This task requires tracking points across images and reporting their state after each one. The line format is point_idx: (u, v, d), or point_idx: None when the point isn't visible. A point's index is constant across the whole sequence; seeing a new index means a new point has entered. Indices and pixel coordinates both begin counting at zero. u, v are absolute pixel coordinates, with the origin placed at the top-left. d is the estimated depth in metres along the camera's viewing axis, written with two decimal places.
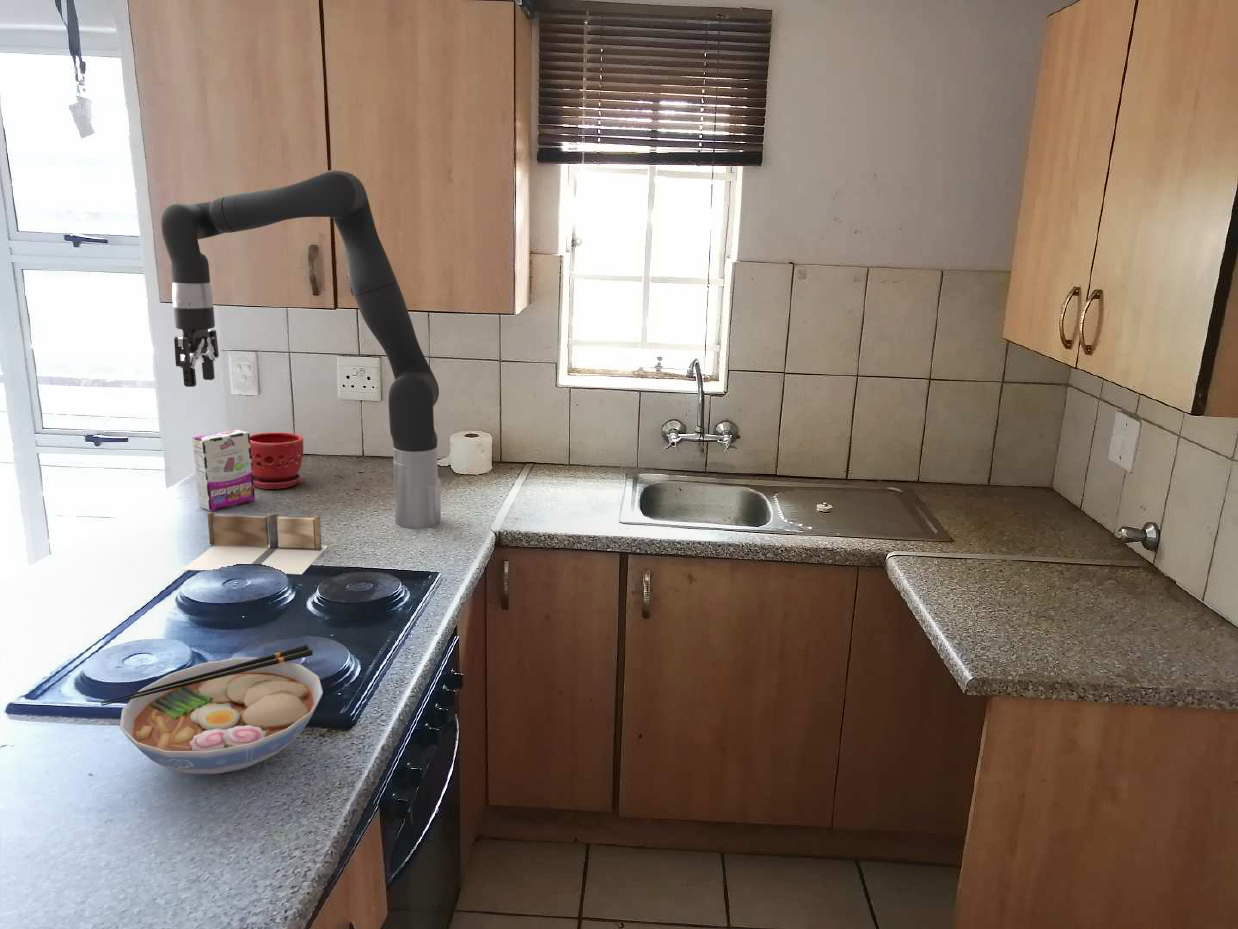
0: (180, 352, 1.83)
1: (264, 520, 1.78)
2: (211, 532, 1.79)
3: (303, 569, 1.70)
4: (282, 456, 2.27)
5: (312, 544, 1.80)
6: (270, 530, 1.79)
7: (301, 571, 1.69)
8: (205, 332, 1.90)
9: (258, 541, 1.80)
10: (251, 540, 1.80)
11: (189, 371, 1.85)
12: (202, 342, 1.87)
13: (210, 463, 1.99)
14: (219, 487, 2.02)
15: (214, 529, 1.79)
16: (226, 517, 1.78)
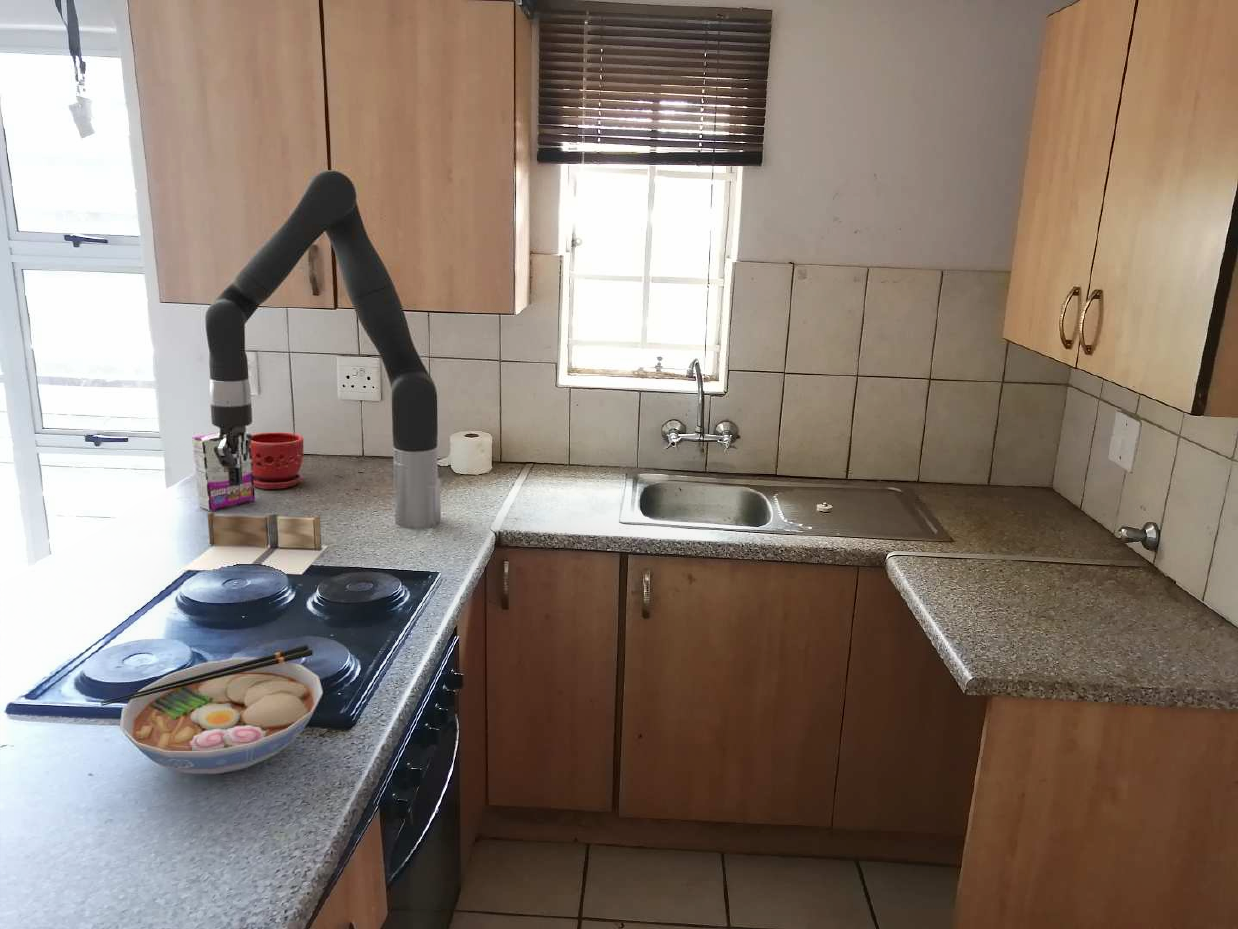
0: (223, 459, 1.80)
1: (264, 520, 1.78)
2: (211, 532, 1.79)
3: (303, 569, 1.70)
4: (282, 456, 2.27)
5: (312, 544, 1.80)
6: (270, 530, 1.79)
7: (301, 571, 1.69)
8: (242, 427, 1.85)
9: (258, 541, 1.80)
10: (251, 540, 1.80)
11: (234, 471, 1.83)
12: (239, 440, 1.82)
13: (210, 463, 1.99)
14: (219, 487, 2.02)
15: (214, 529, 1.79)
16: (226, 517, 1.78)
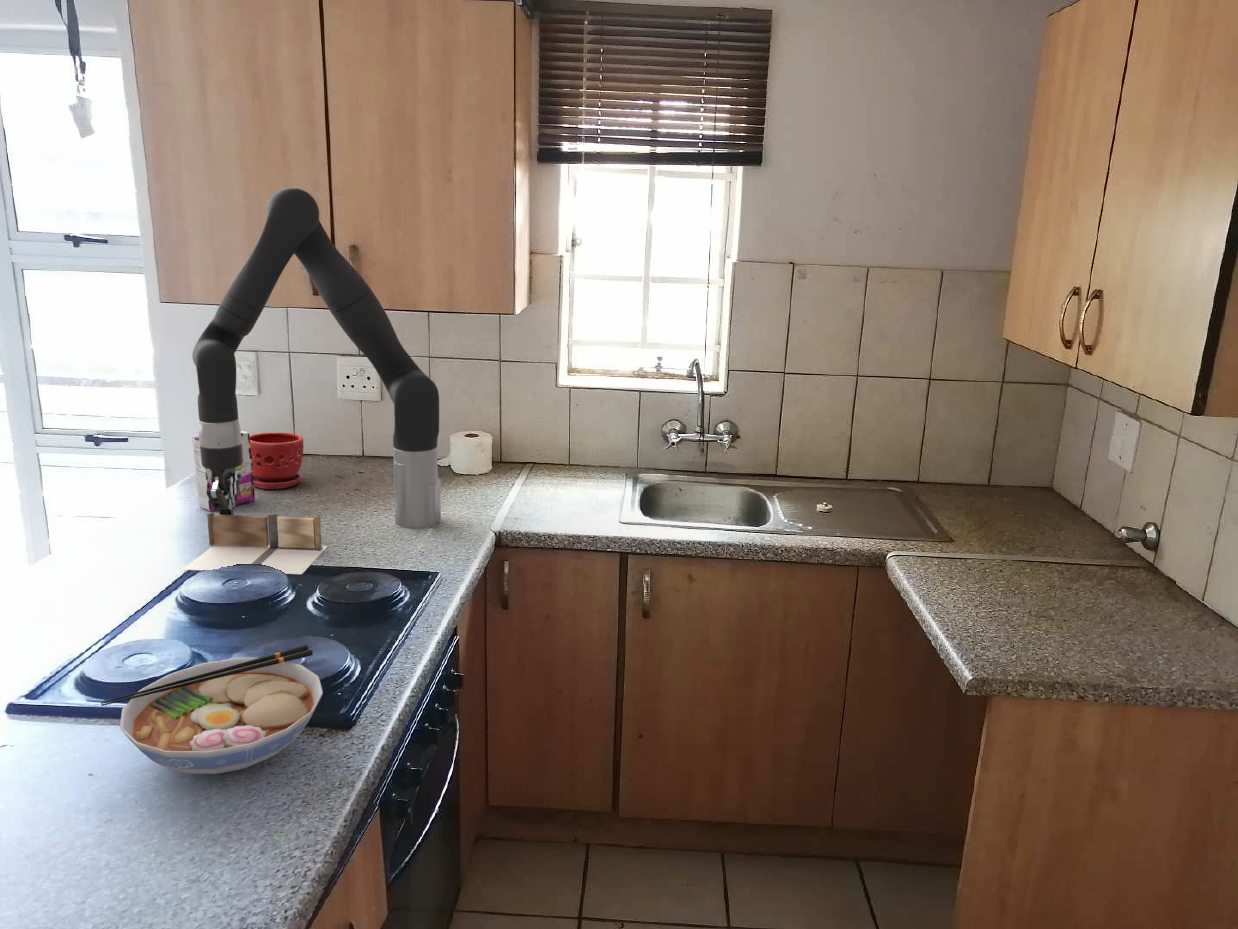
0: (216, 502, 1.76)
1: (264, 520, 1.78)
2: (211, 532, 1.79)
3: (303, 569, 1.70)
4: (282, 456, 2.27)
5: (312, 544, 1.80)
6: (270, 530, 1.79)
7: (301, 571, 1.69)
8: (232, 468, 1.81)
9: (258, 541, 1.80)
10: (251, 540, 1.80)
11: (226, 512, 1.80)
12: (231, 481, 1.79)
13: None
14: None
15: (214, 529, 1.79)
16: (226, 517, 1.78)
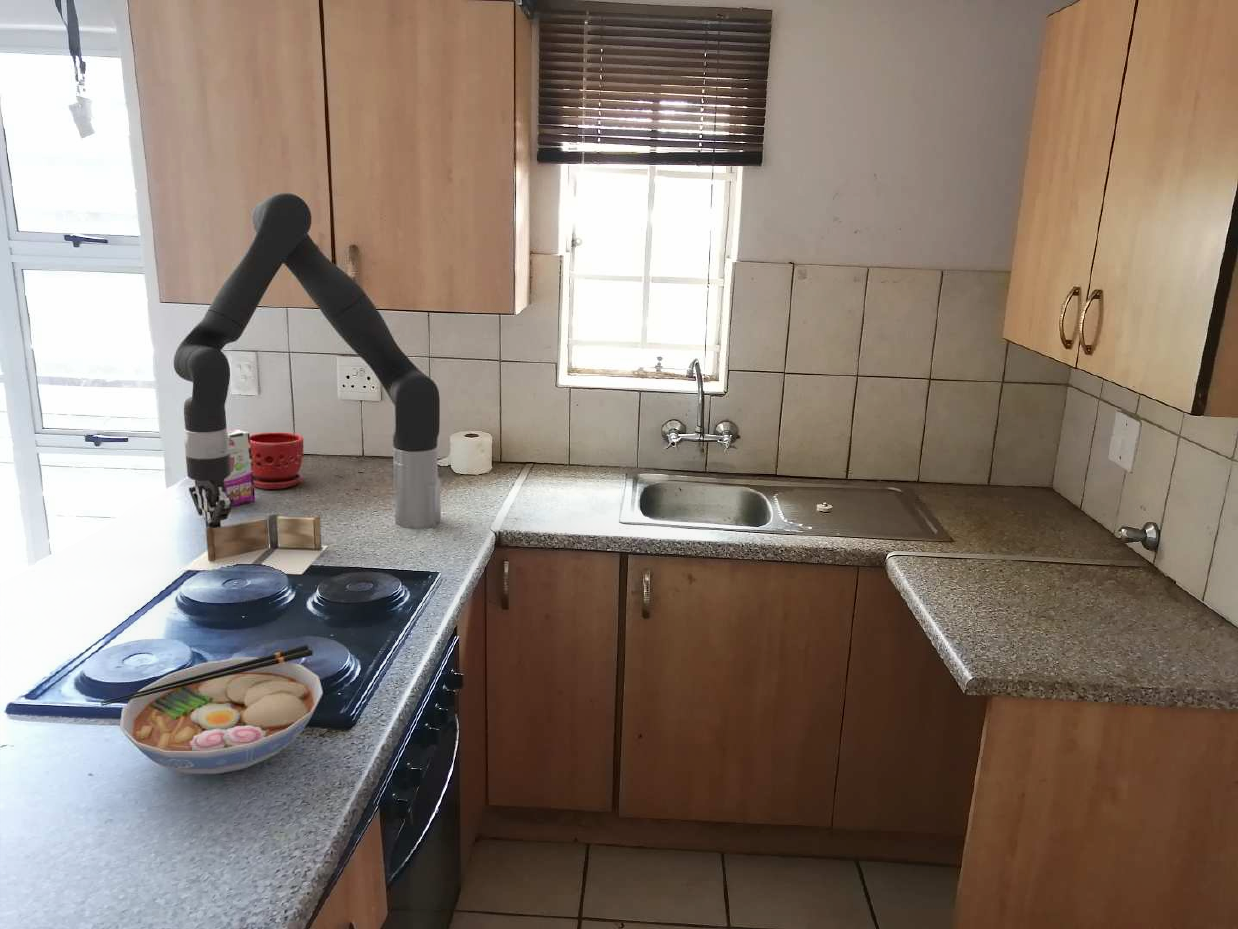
0: (223, 512, 1.70)
1: (266, 522, 1.78)
2: (212, 547, 1.71)
3: (303, 569, 1.70)
4: (282, 456, 2.27)
5: (312, 544, 1.80)
6: (270, 530, 1.79)
7: (301, 571, 1.69)
8: None
9: (260, 544, 1.78)
10: (253, 545, 1.77)
11: (219, 524, 1.73)
12: None
13: None
14: None
15: (215, 544, 1.71)
16: (228, 528, 1.73)
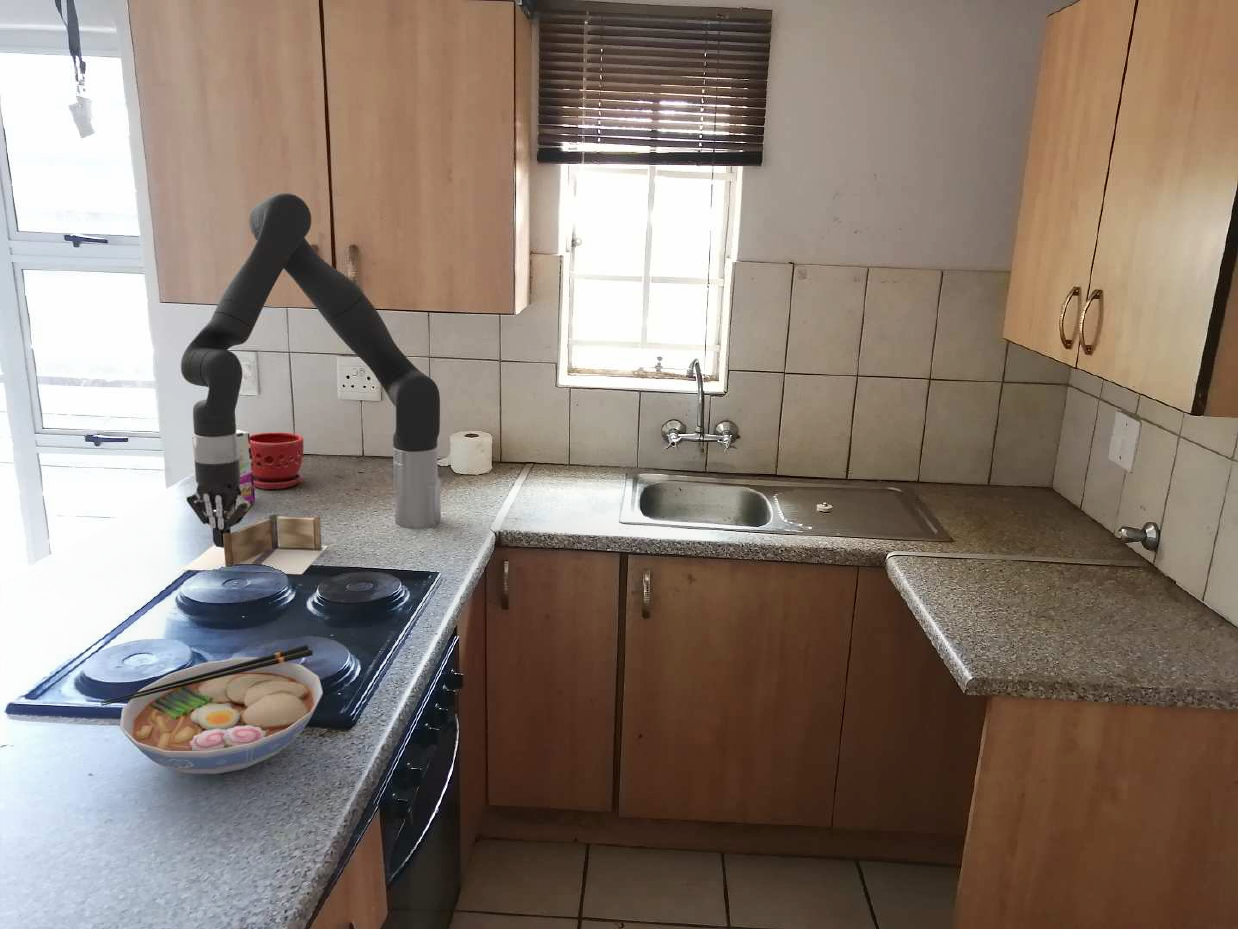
0: (241, 516, 1.68)
1: (269, 522, 1.78)
2: (231, 553, 1.69)
3: (303, 569, 1.70)
4: (282, 456, 2.27)
5: (312, 544, 1.80)
6: None
7: (301, 571, 1.69)
8: None
9: (265, 546, 1.77)
10: (260, 547, 1.76)
11: (229, 529, 1.71)
12: None
13: None
14: None
15: (232, 549, 1.69)
16: (241, 532, 1.71)
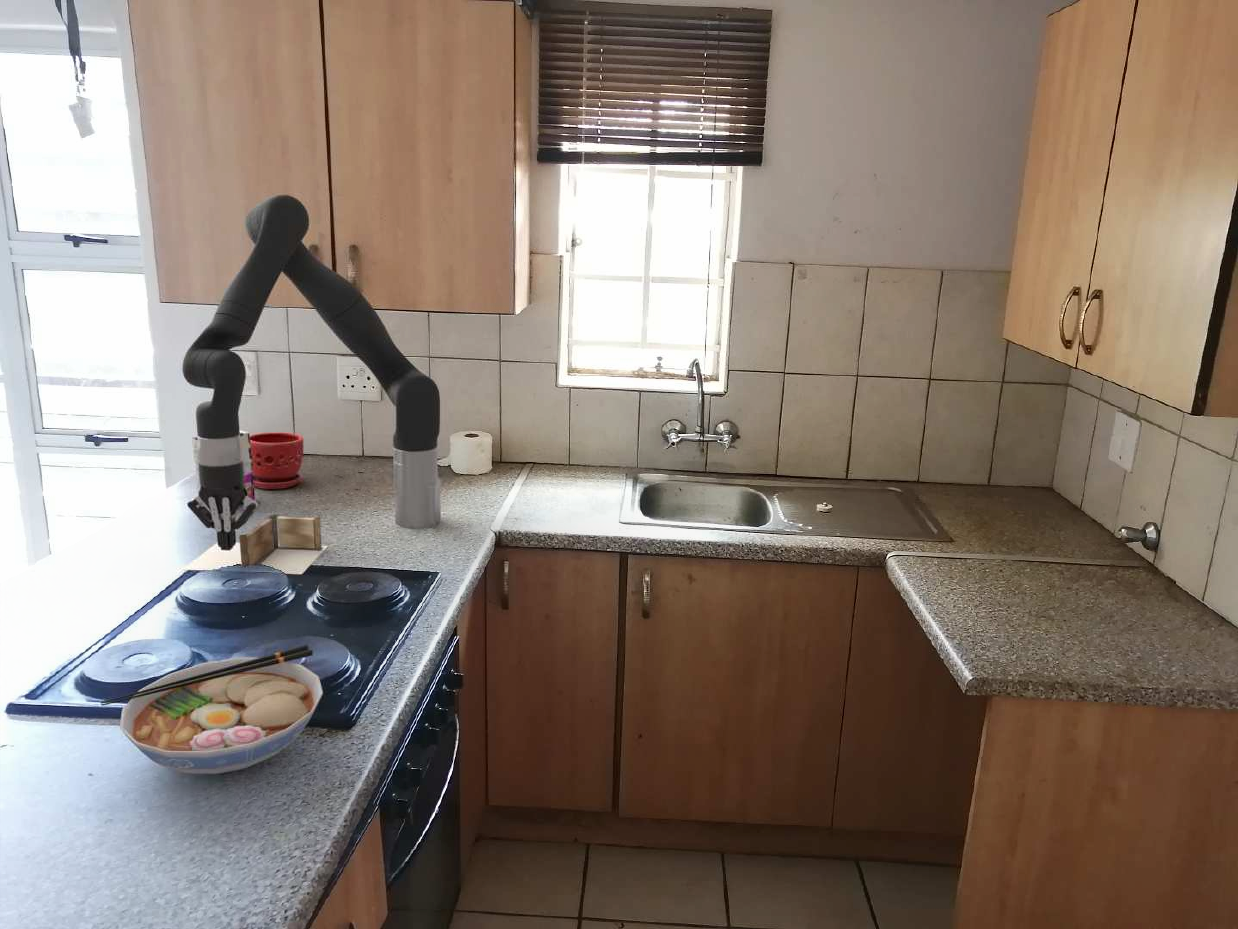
0: (249, 517, 1.68)
1: (271, 522, 1.78)
2: (247, 555, 1.68)
3: (303, 569, 1.70)
4: (282, 456, 2.27)
5: (312, 544, 1.80)
6: None
7: (301, 571, 1.69)
8: None
9: (269, 546, 1.77)
10: (266, 548, 1.76)
11: (234, 531, 1.69)
12: None
13: None
14: None
15: (248, 551, 1.69)
16: (254, 533, 1.70)
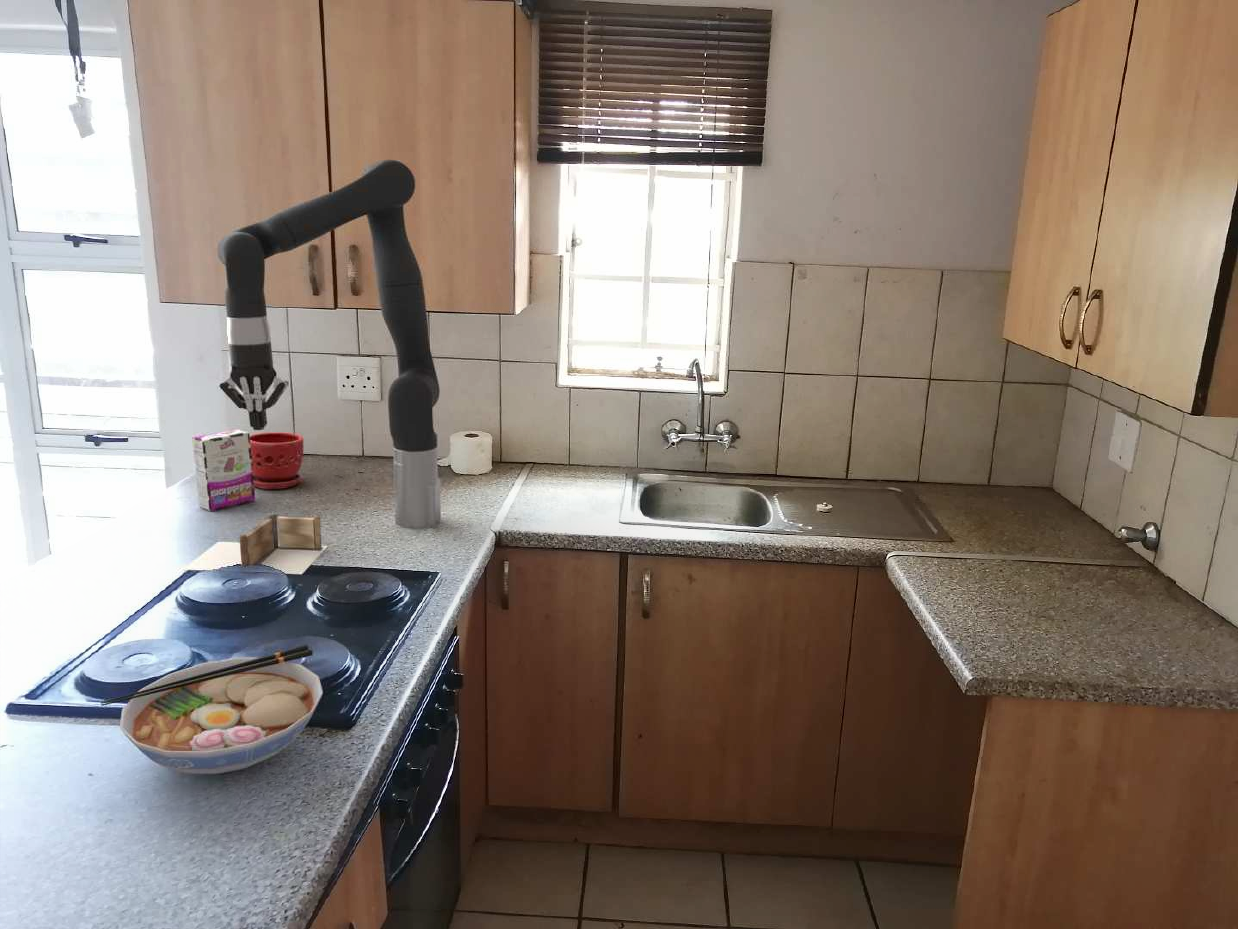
0: (279, 396, 1.76)
1: (271, 522, 1.78)
2: (247, 555, 1.68)
3: (303, 569, 1.70)
4: (282, 456, 2.27)
5: (312, 544, 1.80)
6: None
7: (301, 571, 1.69)
8: None
9: (269, 546, 1.77)
10: (266, 548, 1.76)
11: None
12: None
13: (210, 463, 1.99)
14: (219, 487, 2.02)
15: (248, 551, 1.69)
16: (254, 533, 1.70)
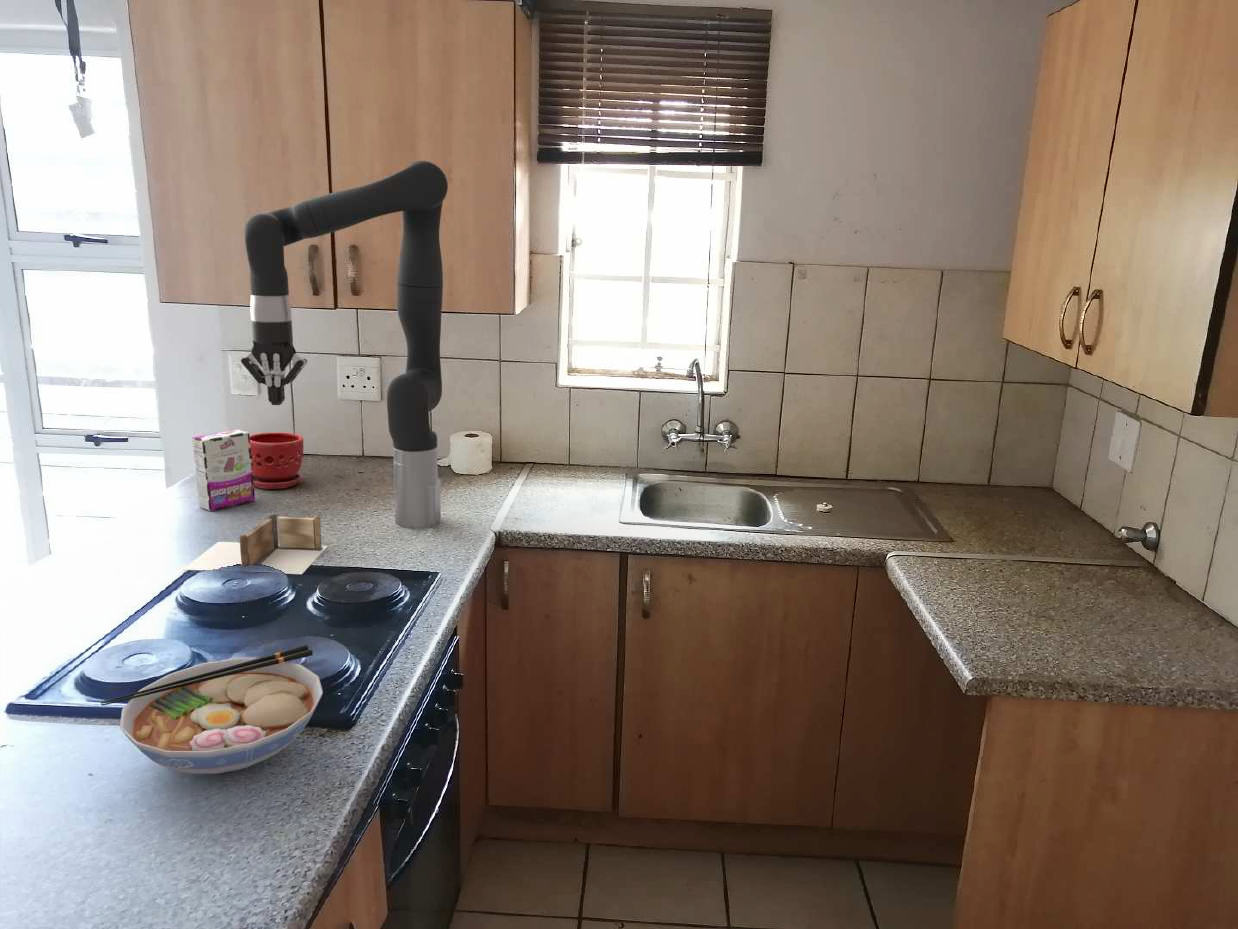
0: (297, 373, 1.82)
1: (271, 522, 1.78)
2: (247, 555, 1.68)
3: (303, 569, 1.70)
4: (282, 456, 2.27)
5: (312, 544, 1.80)
6: None
7: (301, 571, 1.69)
8: None
9: (269, 546, 1.77)
10: (266, 548, 1.76)
11: None
12: None
13: (210, 463, 1.99)
14: (219, 487, 2.02)
15: (248, 551, 1.69)
16: (254, 533, 1.70)
